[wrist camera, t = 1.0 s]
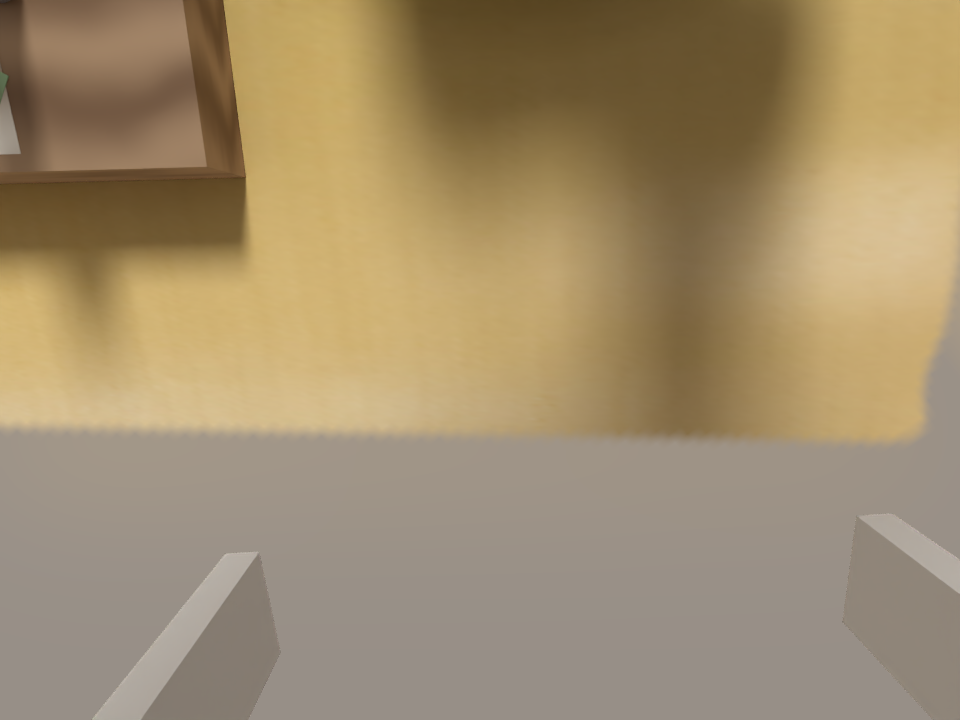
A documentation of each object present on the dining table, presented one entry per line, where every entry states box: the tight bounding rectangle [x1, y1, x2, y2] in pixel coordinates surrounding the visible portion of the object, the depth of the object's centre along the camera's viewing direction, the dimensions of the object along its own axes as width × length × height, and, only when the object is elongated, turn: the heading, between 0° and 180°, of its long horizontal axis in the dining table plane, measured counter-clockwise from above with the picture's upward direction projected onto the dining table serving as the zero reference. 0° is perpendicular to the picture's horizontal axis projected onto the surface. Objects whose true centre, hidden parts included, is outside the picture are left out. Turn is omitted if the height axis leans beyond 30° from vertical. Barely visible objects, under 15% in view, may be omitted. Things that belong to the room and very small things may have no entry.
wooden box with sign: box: [0, 0, 246, 184], centre depth 30 cm, size 20×24×5 cm
